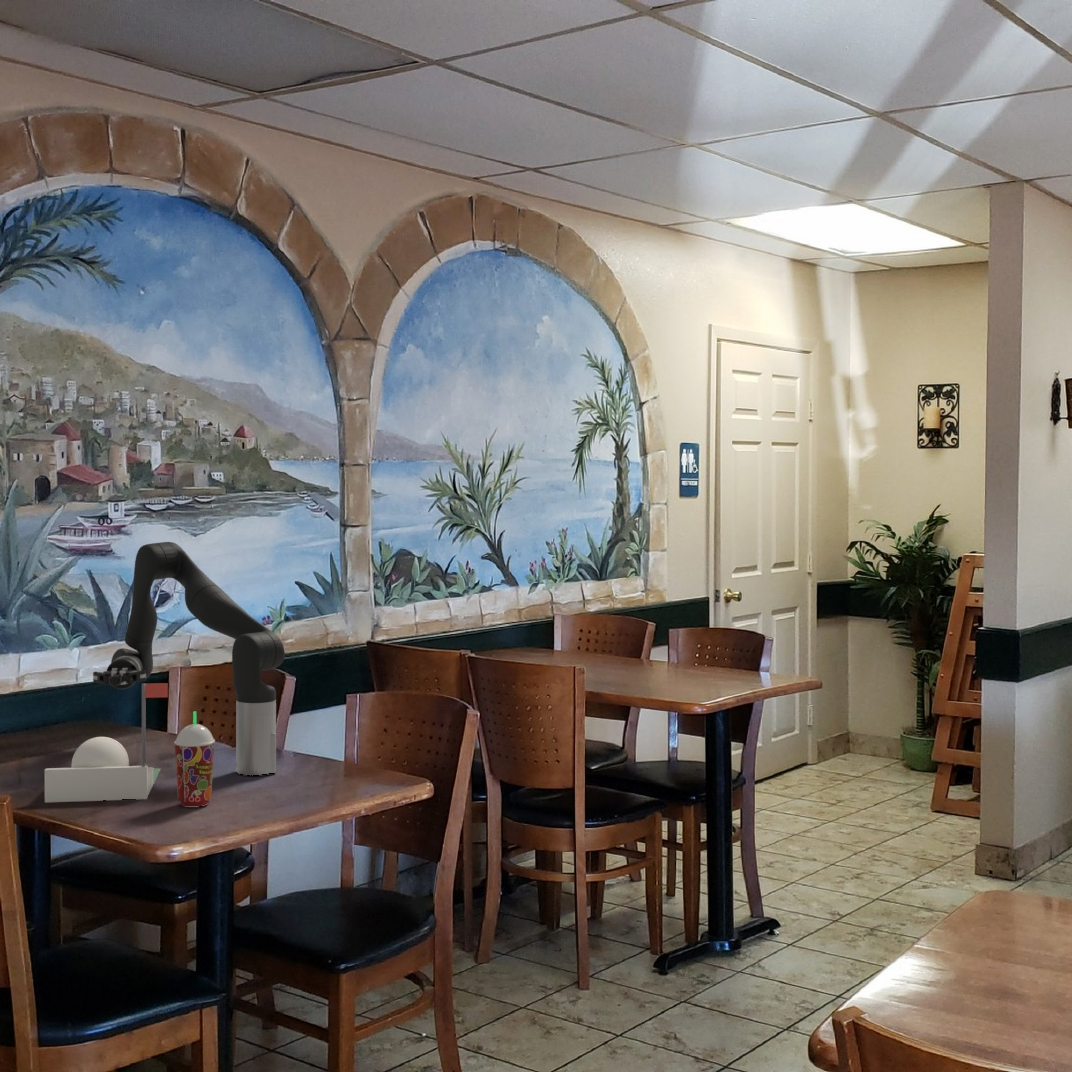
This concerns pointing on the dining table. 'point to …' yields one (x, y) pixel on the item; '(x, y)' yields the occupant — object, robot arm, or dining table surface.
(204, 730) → the smoothie
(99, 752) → the ball
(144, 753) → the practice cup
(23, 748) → the dining table surface
